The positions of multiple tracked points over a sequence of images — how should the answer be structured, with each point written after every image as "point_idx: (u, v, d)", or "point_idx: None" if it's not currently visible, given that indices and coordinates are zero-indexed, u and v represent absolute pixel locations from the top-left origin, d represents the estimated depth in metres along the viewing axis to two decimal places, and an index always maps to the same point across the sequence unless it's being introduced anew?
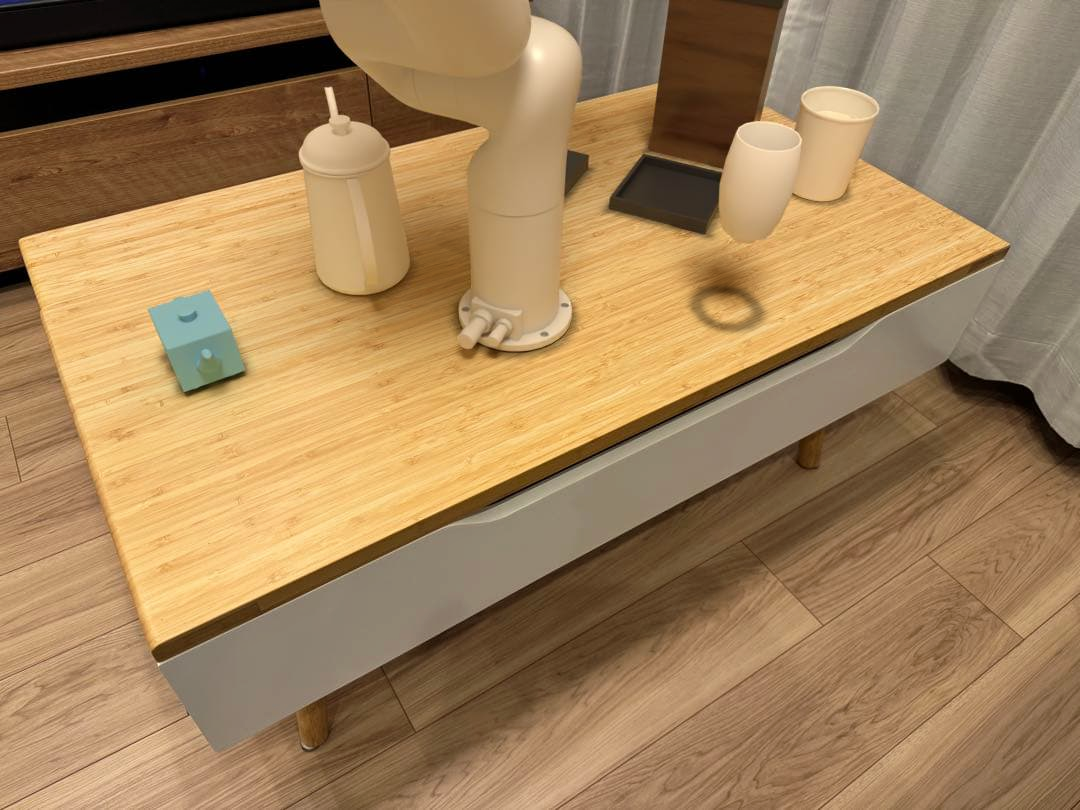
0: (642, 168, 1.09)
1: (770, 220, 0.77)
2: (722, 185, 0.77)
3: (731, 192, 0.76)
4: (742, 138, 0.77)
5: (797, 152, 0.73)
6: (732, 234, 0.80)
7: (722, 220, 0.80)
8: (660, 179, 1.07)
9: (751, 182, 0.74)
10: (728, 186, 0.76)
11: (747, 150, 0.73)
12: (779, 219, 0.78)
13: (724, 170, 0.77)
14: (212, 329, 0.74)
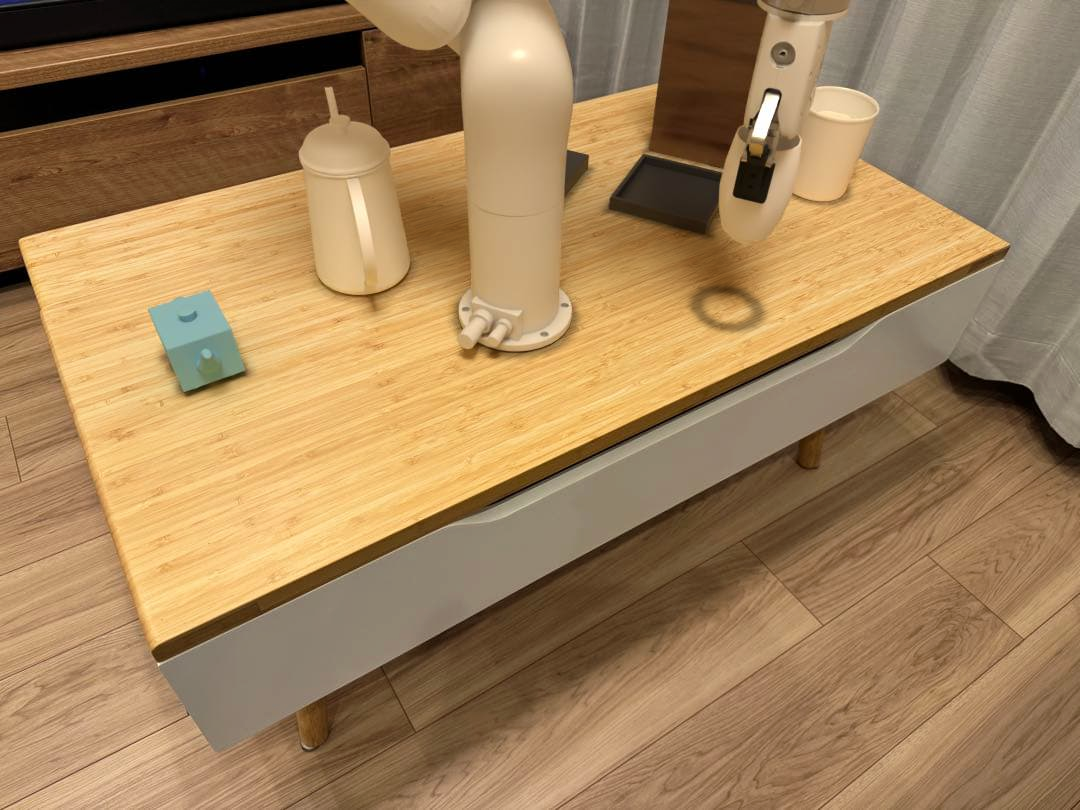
0: (642, 168, 1.09)
1: (770, 220, 0.77)
2: (722, 185, 0.77)
3: (731, 192, 0.76)
4: (742, 138, 0.77)
5: (797, 152, 0.73)
6: (732, 234, 0.80)
7: (722, 220, 0.80)
8: (660, 179, 1.07)
9: None
10: (728, 186, 0.76)
11: None
12: (779, 219, 0.78)
13: (724, 170, 0.77)
14: (212, 329, 0.74)
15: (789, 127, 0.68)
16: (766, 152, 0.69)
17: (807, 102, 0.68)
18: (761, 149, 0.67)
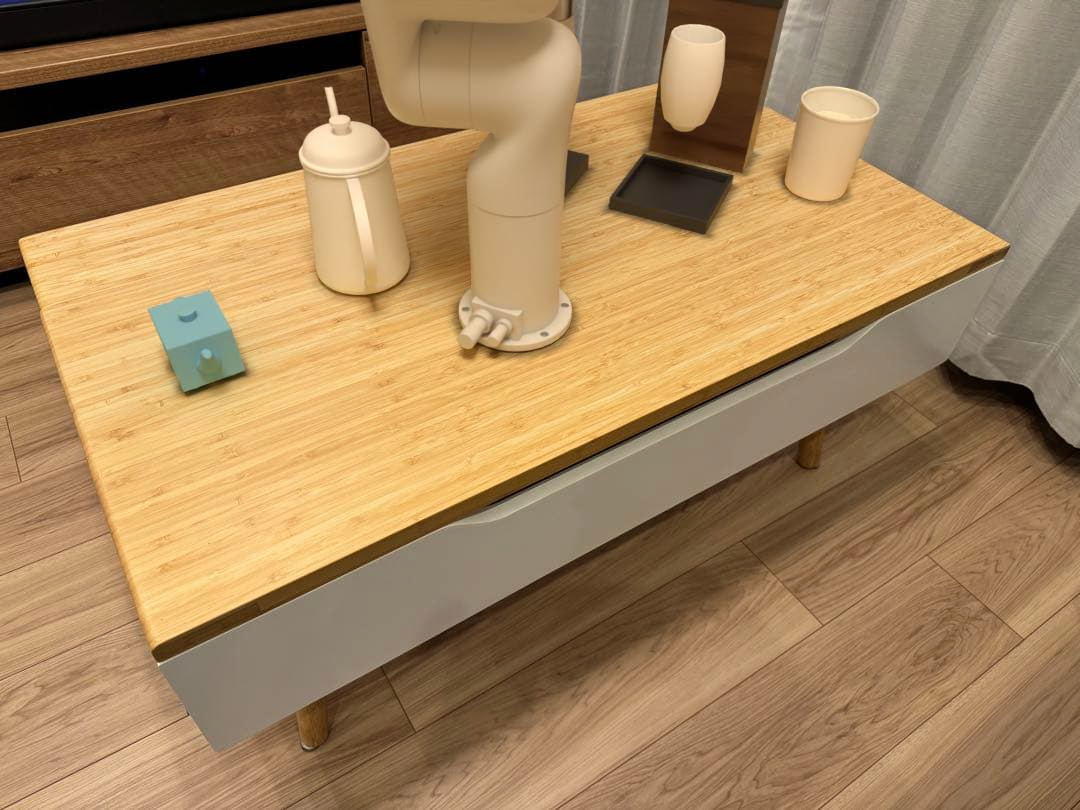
0: (642, 168, 1.09)
1: (701, 107, 0.93)
2: (662, 78, 0.93)
3: (668, 83, 0.92)
4: (678, 39, 0.93)
5: (721, 46, 0.89)
6: (671, 122, 0.96)
7: (663, 110, 0.96)
8: (660, 179, 1.07)
9: (684, 72, 0.90)
10: (666, 78, 0.92)
11: (679, 45, 0.89)
12: (710, 107, 0.94)
13: (663, 65, 0.93)
14: (212, 329, 0.74)
15: None
16: None
17: None
18: None
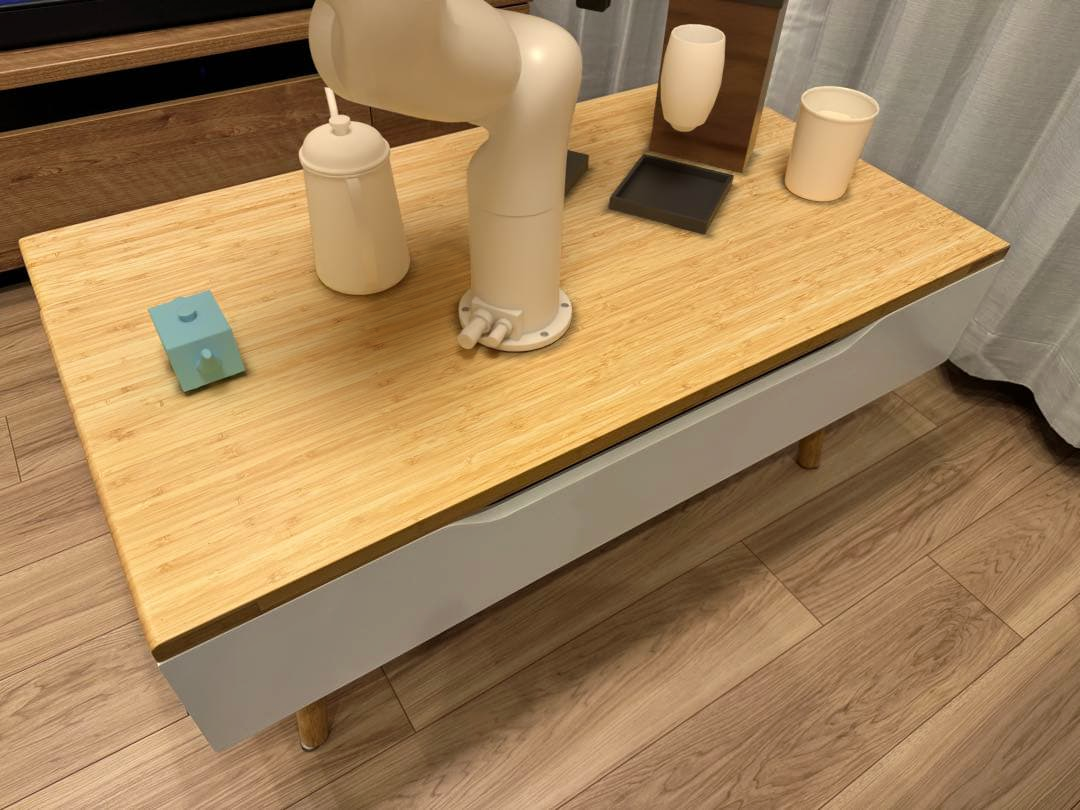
0: (642, 168, 1.09)
1: (701, 107, 0.93)
2: (662, 78, 0.93)
3: (668, 83, 0.92)
4: (678, 39, 0.93)
5: (721, 46, 0.89)
6: (671, 122, 0.96)
7: (663, 110, 0.96)
8: (660, 179, 1.07)
9: (683, 72, 0.90)
10: (666, 78, 0.92)
11: (679, 45, 0.89)
12: (710, 107, 0.94)
13: (663, 65, 0.93)
14: (212, 329, 0.74)
15: None
16: None
17: None
18: None
